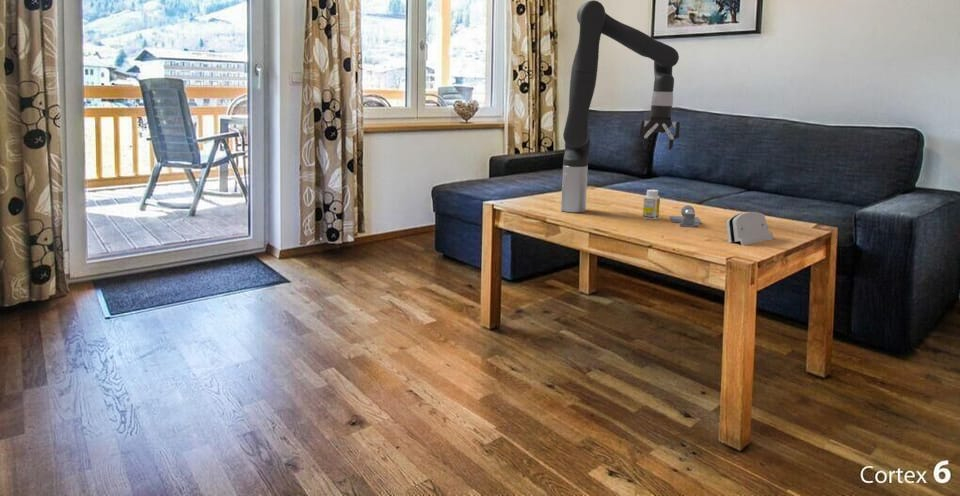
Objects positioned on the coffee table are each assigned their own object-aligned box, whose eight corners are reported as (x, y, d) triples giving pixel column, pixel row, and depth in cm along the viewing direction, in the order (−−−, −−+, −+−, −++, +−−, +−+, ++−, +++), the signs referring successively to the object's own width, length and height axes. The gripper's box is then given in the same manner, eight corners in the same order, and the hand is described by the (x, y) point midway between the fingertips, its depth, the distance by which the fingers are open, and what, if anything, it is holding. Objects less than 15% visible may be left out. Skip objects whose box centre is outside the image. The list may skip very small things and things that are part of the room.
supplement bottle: (654, 216, 243) (656, 189, 240) (661, 219, 238) (663, 191, 235) (640, 217, 242) (642, 189, 239) (646, 220, 237) (648, 192, 234)
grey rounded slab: (742, 245, 202) (735, 213, 202) (729, 247, 206) (722, 216, 206) (774, 238, 211) (768, 208, 211) (761, 240, 215) (755, 210, 215)
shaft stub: (680, 226, 227) (681, 208, 225) (677, 222, 234) (679, 205, 232) (698, 227, 226) (700, 209, 225) (695, 223, 233) (697, 205, 231)
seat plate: (672, 222, 233) (672, 221, 233) (669, 216, 242) (669, 215, 242) (701, 223, 231) (701, 222, 231) (697, 217, 241) (697, 216, 241)
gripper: (642, 104, 239) (638, 149, 243) (683, 105, 237) (678, 151, 241) (641, 103, 247) (637, 147, 250) (681, 105, 244) (676, 149, 248)
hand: (657, 149), depth 246 cm, fingers open, 8 cm apart
